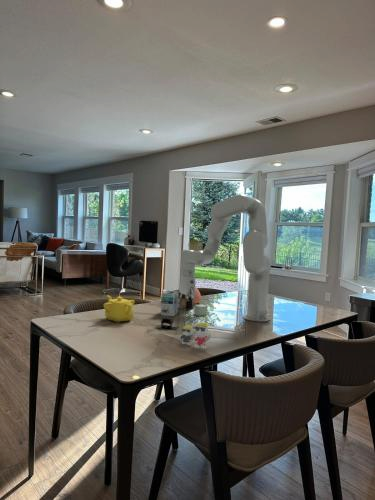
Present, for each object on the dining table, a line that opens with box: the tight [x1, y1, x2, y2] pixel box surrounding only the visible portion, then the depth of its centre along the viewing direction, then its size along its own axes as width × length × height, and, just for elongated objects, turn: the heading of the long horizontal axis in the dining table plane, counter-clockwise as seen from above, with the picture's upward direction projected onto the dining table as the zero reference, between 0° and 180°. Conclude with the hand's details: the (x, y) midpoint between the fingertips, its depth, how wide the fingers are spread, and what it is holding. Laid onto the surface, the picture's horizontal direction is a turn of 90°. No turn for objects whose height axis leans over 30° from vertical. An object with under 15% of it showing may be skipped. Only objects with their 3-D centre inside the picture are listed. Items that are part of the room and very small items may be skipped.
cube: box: [193, 304, 208, 317], centre depth 176 cm, size 4×4×4 cm
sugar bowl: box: [186, 287, 202, 305], centre depth 204 cm, size 12×14×10 cm
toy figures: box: [179, 322, 212, 350], centre depth 128 cm, size 12×4×8 cm, turn 56°
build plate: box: [154, 316, 180, 331], centre depth 149 cm, size 12×7×5 cm, turn 79°
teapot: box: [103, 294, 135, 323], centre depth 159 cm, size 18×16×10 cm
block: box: [178, 297, 195, 311], centre depth 190 cm, size 6×6×5 cm
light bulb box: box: [160, 289, 180, 317], centre depth 175 cm, size 11×7×11 cm, turn 171°
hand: (186, 306), depth 190 cm, fingers closed on block, 6 cm apart
